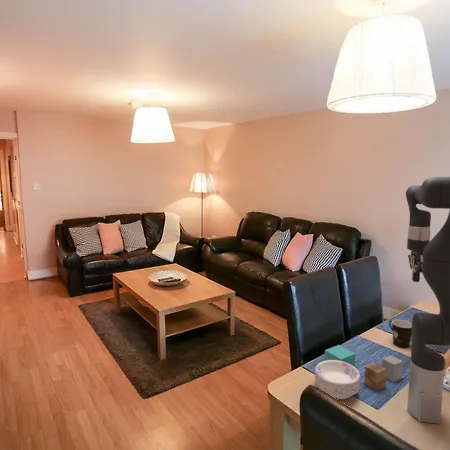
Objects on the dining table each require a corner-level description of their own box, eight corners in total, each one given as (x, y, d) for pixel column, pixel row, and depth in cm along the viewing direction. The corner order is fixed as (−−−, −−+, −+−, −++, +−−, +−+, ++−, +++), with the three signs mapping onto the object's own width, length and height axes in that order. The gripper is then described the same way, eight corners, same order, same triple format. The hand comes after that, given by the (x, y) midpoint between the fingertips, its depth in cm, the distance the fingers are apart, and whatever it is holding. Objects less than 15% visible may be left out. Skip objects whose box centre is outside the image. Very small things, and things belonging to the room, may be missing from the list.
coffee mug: (414, 350, 148) (416, 328, 146) (393, 348, 149) (394, 327, 148) (406, 337, 159) (407, 317, 158) (386, 336, 161) (387, 316, 159)
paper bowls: (306, 384, 125) (306, 364, 123) (339, 375, 130) (340, 355, 129) (333, 410, 111) (333, 387, 109) (369, 399, 116) (370, 377, 115)
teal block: (354, 372, 131) (355, 353, 130) (340, 379, 127) (341, 359, 126) (338, 363, 138) (339, 344, 137) (324, 368, 134) (324, 350, 133)
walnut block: (385, 386, 122) (386, 368, 121) (376, 391, 120) (377, 373, 119) (373, 379, 127) (374, 362, 126) (364, 384, 124) (365, 366, 123)
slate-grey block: (401, 378, 128) (402, 361, 127) (393, 382, 125) (394, 364, 124) (389, 371, 132) (390, 355, 131) (381, 375, 129) (382, 358, 128)
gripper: (402, 234, 137) (399, 276, 139) (414, 240, 124) (411, 286, 126) (422, 235, 136) (419, 277, 138) (436, 241, 123) (433, 287, 125)
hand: (415, 281), depth 132 cm, fingers closed
